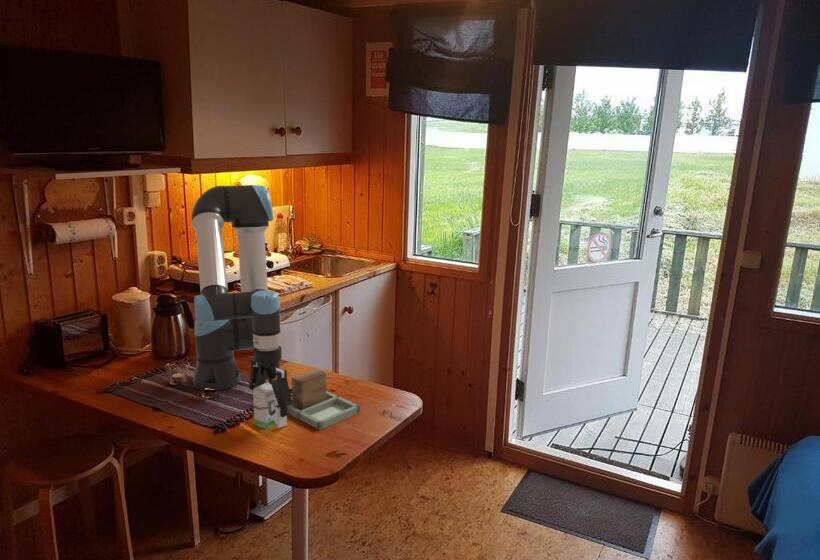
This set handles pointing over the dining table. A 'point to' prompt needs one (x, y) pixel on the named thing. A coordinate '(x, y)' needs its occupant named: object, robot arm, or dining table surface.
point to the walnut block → (308, 389)
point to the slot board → (325, 411)
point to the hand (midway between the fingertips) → (271, 419)
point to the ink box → (265, 406)
